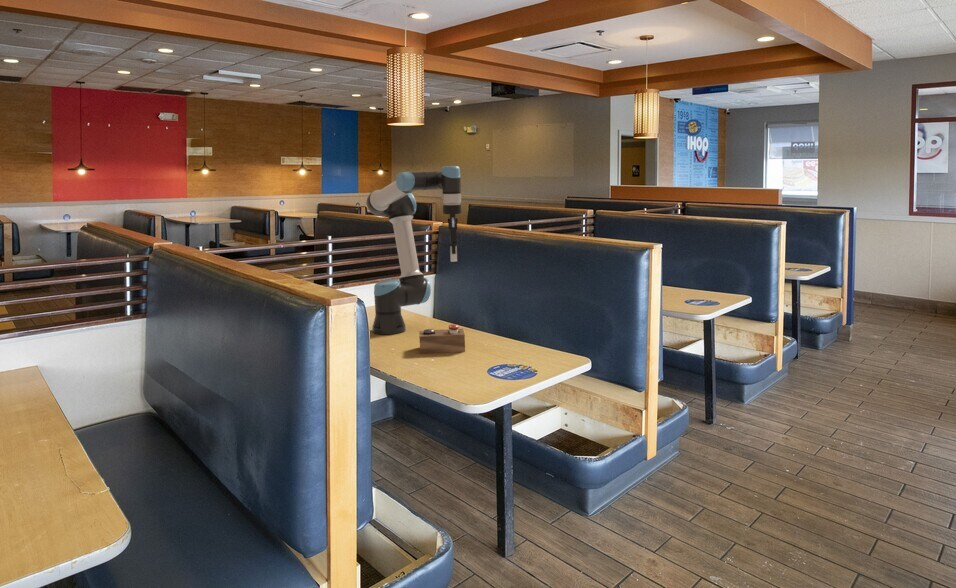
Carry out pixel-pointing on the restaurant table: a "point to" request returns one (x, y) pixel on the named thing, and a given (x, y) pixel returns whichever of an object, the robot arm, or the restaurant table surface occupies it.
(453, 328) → the plug red
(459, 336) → the block
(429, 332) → the plug grey
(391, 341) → the restaurant table surface
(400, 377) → the restaurant table surface
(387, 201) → the robot arm
